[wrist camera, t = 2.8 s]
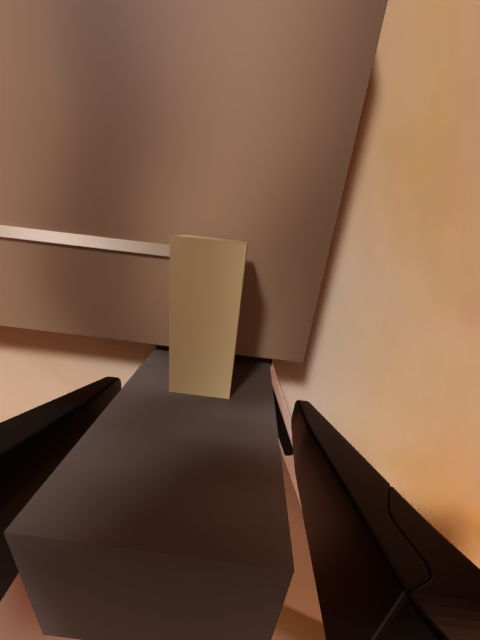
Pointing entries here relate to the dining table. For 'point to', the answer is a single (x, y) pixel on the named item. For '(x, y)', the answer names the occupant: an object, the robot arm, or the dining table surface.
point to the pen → (284, 428)
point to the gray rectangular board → (174, 156)
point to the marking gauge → (170, 486)
